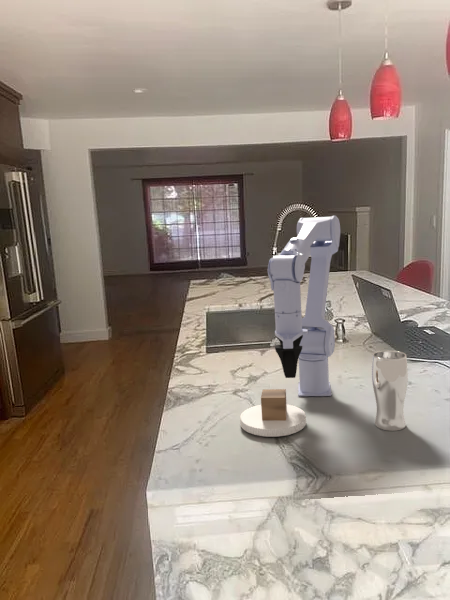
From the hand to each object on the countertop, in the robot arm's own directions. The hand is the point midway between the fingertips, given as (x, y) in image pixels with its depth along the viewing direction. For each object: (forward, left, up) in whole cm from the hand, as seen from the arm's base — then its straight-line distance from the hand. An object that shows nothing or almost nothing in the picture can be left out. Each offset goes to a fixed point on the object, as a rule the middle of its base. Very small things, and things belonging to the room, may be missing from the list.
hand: (290, 371), depth 109 cm
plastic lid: (+5, -4, -11) cm, 13 cm away
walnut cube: (+5, -4, -8) cm, 10 cm away
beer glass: (+5, +20, -10) cm, 23 cm away
